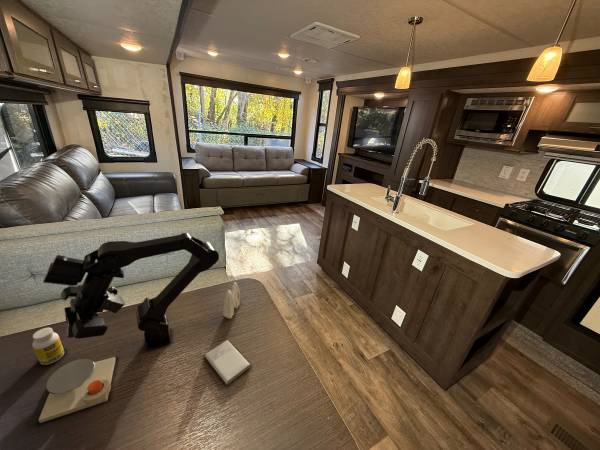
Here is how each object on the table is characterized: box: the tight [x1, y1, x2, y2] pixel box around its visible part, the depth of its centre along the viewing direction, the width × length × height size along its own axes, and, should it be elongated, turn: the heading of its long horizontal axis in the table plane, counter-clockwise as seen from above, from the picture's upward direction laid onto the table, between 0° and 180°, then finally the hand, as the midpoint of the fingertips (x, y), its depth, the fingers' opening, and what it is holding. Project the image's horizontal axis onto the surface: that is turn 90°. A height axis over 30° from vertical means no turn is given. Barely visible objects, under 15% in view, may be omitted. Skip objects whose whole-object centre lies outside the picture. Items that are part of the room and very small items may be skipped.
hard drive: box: [204, 339, 251, 386], centre depth 77 cm, size 2×8×12 cm
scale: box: [38, 356, 116, 424], centre depth 66 cm, size 14×14×3 cm
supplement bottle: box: [31, 327, 65, 366], centre depth 72 cm, size 5×5×10 cm
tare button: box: [87, 380, 103, 395], centre depth 63 cm, size 3×3×2 cm
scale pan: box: [46, 358, 95, 394], centre depth 66 cm, size 10×10×1 cm
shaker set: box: [222, 281, 241, 319], centre depth 95 cm, size 12×4×11 cm, turn 174°
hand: (70, 336), depth 66 cm, fingers closed
